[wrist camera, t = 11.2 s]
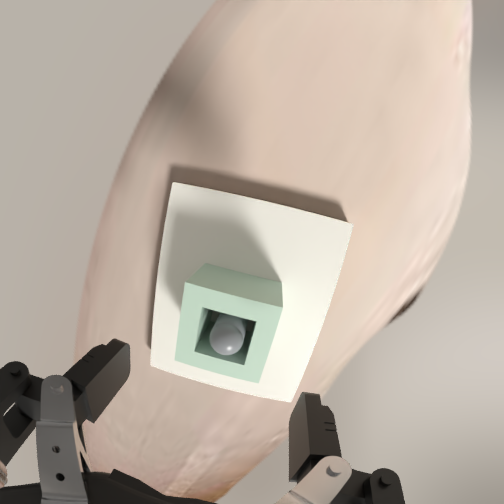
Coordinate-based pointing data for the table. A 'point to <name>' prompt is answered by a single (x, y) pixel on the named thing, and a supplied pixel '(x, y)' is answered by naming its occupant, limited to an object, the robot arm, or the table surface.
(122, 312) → the table surface
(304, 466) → the robot arm
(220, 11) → the table surface
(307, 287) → the plate
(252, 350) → the collar
